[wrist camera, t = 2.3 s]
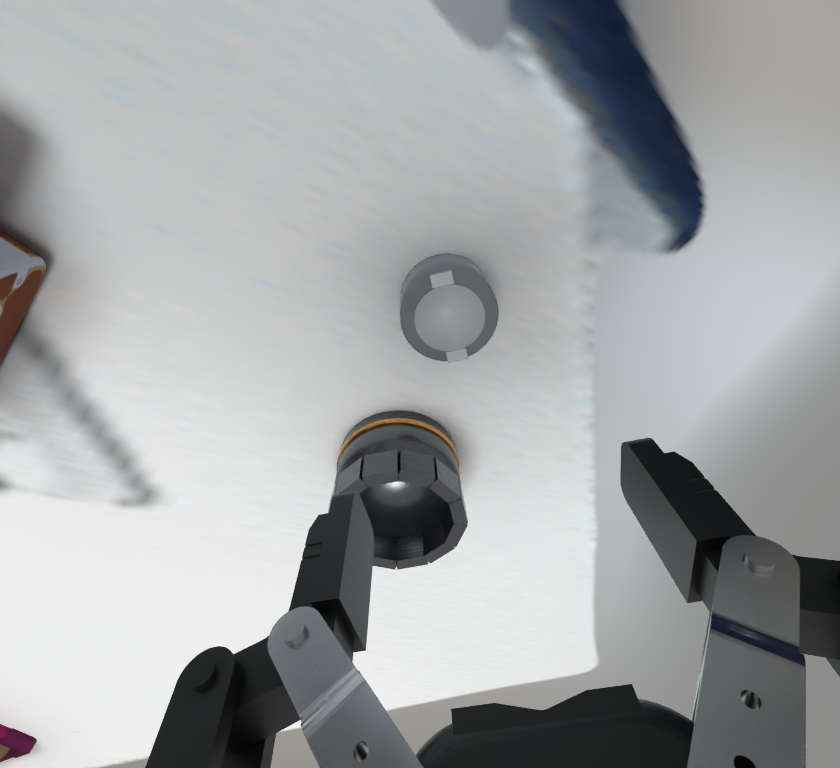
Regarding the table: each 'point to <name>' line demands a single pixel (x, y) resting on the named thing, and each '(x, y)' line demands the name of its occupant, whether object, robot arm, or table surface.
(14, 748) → the book
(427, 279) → the lens cap
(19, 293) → the cine camera
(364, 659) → the table surface
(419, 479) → the lens barrel
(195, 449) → the table surface
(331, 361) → the table surface
